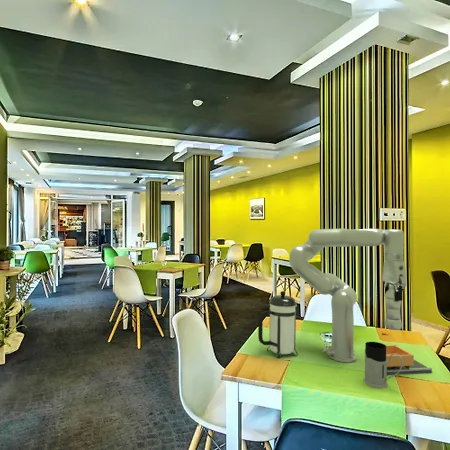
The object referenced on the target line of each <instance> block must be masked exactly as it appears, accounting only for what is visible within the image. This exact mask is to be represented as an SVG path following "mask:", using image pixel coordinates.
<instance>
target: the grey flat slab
mask: <svg viewBox="0 0 450 450" xmlns="http://www.w3.org/2000/svg"><path fill="white" fill-rule="evenodd" d="M400 367H401V366H392V369H388V368H387V375H388V376H389V375H390V376H393V375H395V374H396V373H397V372H398V371H399V370H400ZM432 369H433V368H432V367H427V366H426V365H424V364H422V363H421V362H419V361H417V360H415V359H414V365H413V366H410V367H409V368H405V367H404V366H402V369H401V371H400V372H399V373H398V374H397V375H410V374H432V372H433V370H432ZM395 376H396V375H395Z"/></svg>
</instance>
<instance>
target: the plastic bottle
mask: <svg viewBox="0 0 450 450" xmlns="http://www.w3.org/2000/svg"><path fill="white" fill-rule="evenodd" d="M388 288H389V290H388V291H387V292H386V294H385V293H384V299H385V305H386V306H385V309H386V310H385V318H384V326H385V327H386V329H388V330H390V331H391V330H392V331H400V330H401V329H402V327H403V324H402V319H401V318H402V317H401V305H402V301H395V291H396V289H395V285H394V284H391V283H389V287H388Z"/></svg>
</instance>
